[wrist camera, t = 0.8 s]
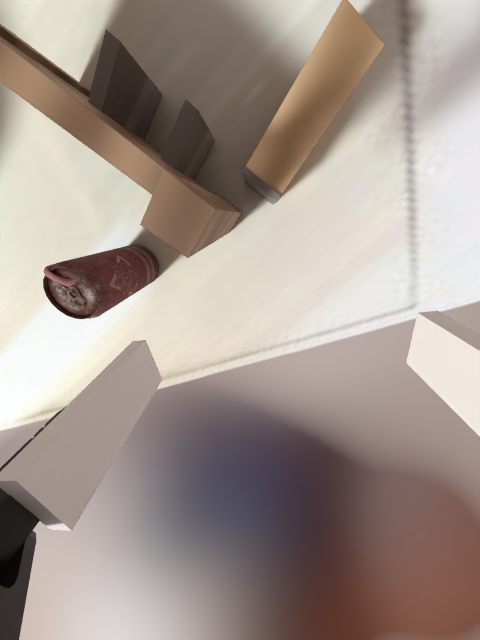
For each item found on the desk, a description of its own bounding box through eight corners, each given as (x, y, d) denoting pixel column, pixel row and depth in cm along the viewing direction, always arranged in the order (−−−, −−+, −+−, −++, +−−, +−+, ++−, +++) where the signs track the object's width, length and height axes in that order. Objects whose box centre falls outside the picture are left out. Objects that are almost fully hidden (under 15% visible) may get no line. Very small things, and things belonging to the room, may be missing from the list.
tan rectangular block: (245, 181, 27) (241, 171, 21) (320, 54, 21) (345, -9, 15) (272, 204, 28) (277, 201, 22) (352, 89, 22) (387, 42, 16)
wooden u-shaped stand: (72, 111, 25) (-388, -145, 7) (89, 32, 22) (-634, -757, 4) (229, 232, 30) (187, 258, 12) (262, 180, 27) (271, 112, 9)
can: (131, 234, 31) (46, 247, 18) (167, 263, 32) (111, 293, 20) (114, 264, 33) (27, 294, 21) (148, 290, 35) (86, 332, 22)
